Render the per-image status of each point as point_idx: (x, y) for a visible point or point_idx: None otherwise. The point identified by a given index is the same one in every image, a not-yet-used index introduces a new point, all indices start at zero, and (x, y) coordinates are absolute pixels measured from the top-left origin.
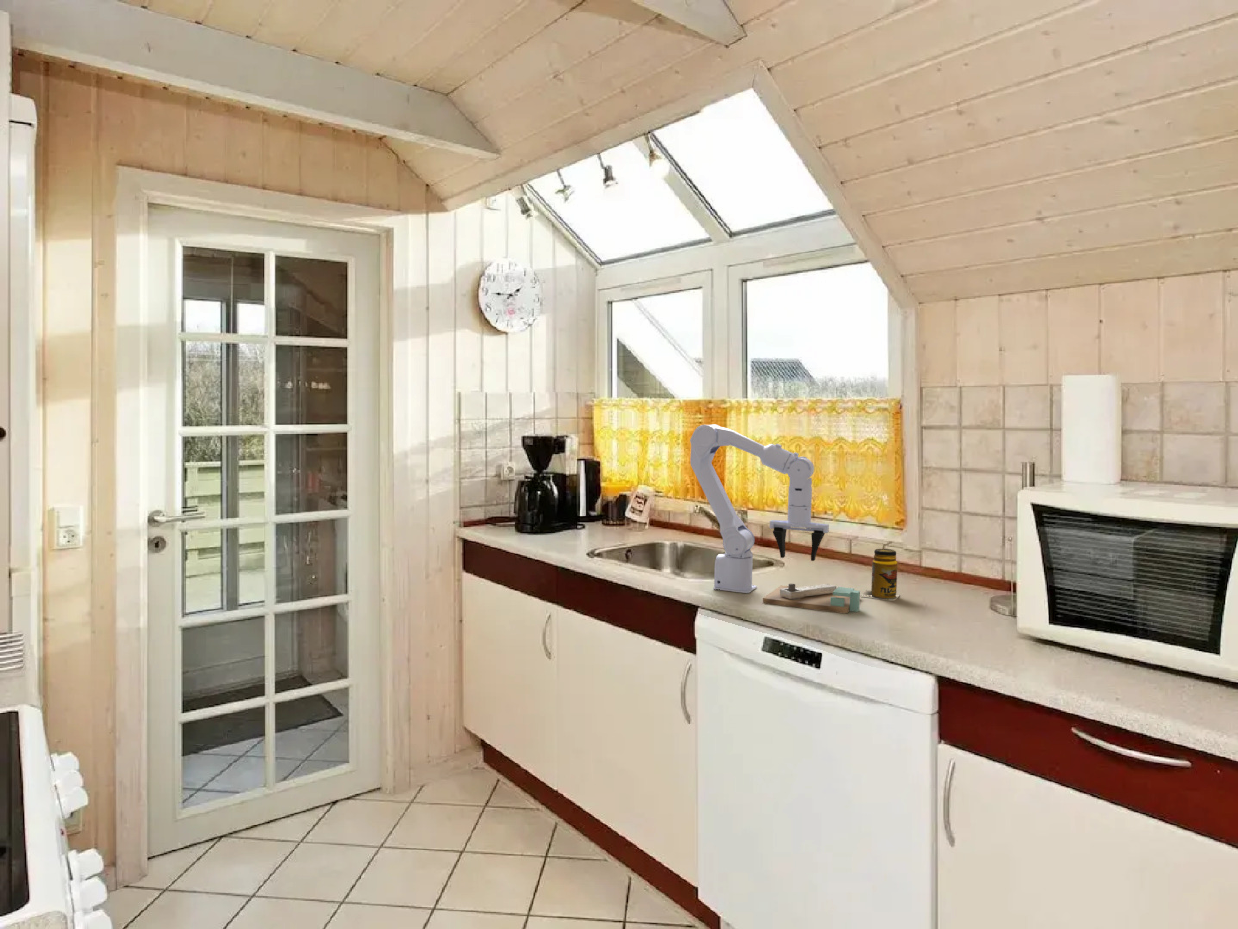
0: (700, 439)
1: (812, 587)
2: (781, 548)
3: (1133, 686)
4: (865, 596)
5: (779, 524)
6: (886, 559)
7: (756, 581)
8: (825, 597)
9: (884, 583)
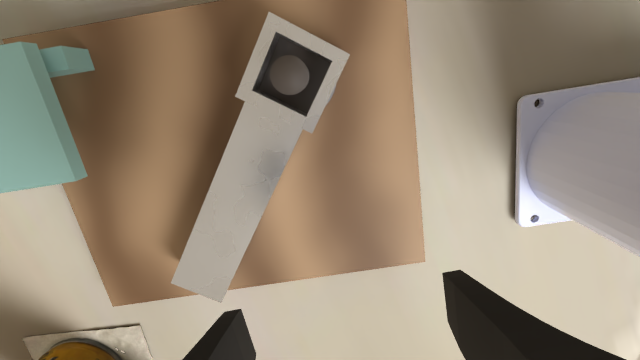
0: None
1: (237, 194)
2: (490, 309)
3: None
4: (125, 334)
5: None
6: None
7: (548, 318)
8: (182, 177)
9: None
